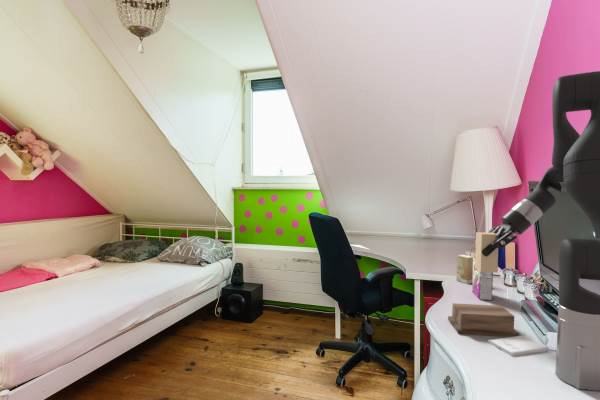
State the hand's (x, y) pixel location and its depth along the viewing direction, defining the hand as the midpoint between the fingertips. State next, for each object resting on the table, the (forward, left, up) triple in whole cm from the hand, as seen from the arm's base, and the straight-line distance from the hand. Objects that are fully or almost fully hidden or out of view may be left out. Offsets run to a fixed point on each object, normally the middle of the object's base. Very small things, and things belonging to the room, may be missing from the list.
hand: (480, 252), depth 115 cm
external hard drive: (-15, -5, -24) cm, 29 cm away
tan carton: (0, -2, -6) cm, 6 cm away
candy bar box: (+31, -12, -24) cm, 41 cm away
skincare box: (+52, -12, -24) cm, 58 cm away
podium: (-3, 0, -24) cm, 24 cm away
